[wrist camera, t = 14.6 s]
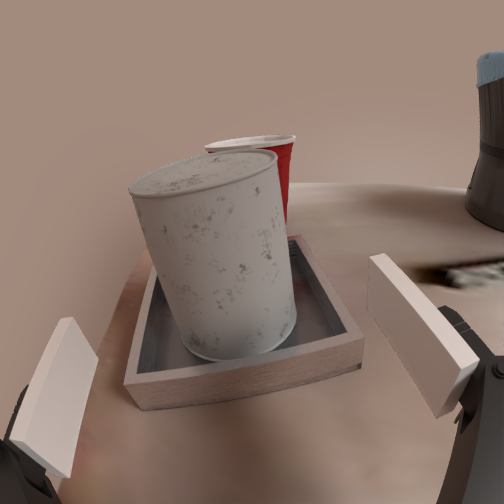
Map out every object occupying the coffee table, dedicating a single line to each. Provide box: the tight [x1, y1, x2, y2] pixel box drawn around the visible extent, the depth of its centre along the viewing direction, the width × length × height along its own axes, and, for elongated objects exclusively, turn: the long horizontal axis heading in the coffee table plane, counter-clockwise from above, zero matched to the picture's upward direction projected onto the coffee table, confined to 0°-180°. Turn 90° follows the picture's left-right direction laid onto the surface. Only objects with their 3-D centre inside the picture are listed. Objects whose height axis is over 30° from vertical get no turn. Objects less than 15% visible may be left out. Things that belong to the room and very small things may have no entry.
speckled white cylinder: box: [128, 149, 297, 363], centre depth 22 cm, size 10×10×12 cm
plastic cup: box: [204, 135, 296, 225], centre depth 38 cm, size 11×11×12 cm
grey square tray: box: [123, 234, 365, 411], centre depth 24 cm, size 15×15×3 cm
